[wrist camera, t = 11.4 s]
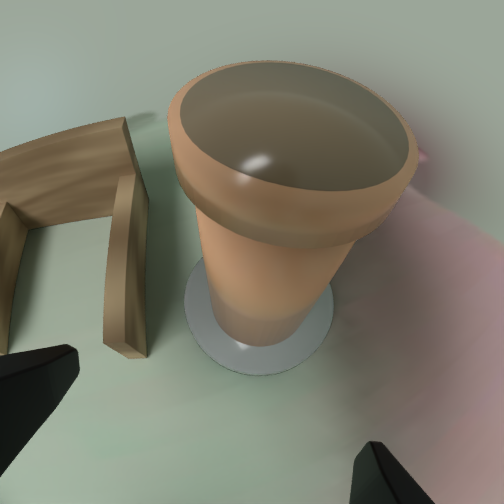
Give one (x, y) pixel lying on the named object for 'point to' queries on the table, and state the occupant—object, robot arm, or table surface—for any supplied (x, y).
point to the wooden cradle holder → (80, 217)
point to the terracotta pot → (283, 184)
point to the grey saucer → (247, 356)
